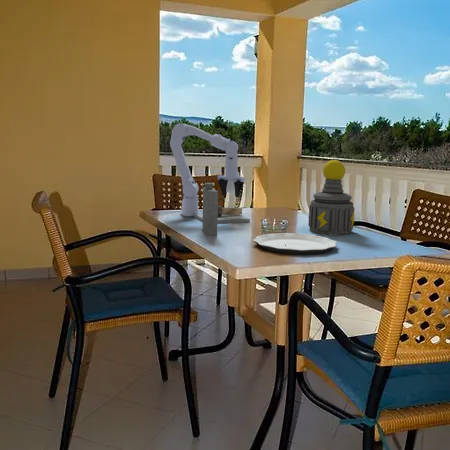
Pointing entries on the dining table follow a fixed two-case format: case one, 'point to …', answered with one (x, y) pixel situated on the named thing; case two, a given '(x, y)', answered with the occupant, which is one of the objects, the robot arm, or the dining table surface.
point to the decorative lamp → (332, 204)
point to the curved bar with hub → (229, 211)
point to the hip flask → (210, 210)
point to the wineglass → (231, 188)
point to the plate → (295, 243)
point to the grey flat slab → (225, 218)
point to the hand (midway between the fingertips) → (230, 195)
